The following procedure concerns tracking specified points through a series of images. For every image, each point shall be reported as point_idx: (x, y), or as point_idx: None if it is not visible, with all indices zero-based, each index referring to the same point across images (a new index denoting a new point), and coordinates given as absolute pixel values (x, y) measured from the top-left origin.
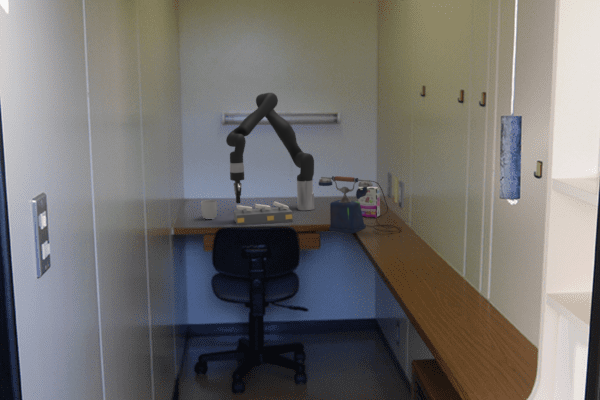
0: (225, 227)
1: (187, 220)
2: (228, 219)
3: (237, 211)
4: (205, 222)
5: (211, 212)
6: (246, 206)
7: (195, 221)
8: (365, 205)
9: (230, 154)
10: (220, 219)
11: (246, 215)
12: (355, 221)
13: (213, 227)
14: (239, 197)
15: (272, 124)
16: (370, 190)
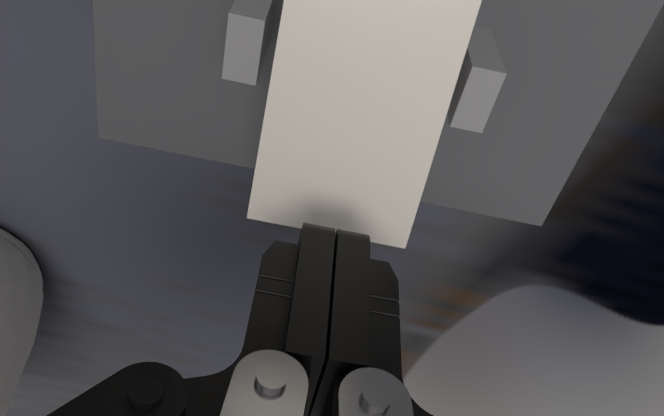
0: (503, 261)
1: (12, 405)
2: (75, 107)
3: (228, 117)
4: (155, 332)
5: (21, 335)
6: (318, 10)
7: (76, 376)
8: None
9: None
10: (46, 185)
11: (616, 76)
12: None
13: (421, 338)
14: (398, 368)
15: None
16: None
